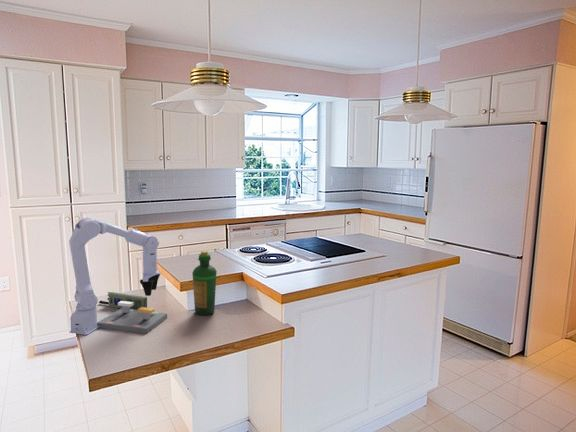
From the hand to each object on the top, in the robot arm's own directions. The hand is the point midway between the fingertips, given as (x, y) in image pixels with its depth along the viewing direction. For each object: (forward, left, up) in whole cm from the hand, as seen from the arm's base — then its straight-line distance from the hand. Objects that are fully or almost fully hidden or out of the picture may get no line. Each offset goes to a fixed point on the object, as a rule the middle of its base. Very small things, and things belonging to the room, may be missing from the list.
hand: (150, 292), depth 175 cm
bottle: (+7, -22, -10) cm, 25 cm away
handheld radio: (+2, +16, -10) cm, 19 cm away
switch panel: (-11, +2, -10) cm, 15 cm away
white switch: (-7, +8, -7) cm, 13 cm away
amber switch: (-11, -4, -7) cm, 13 cm away
